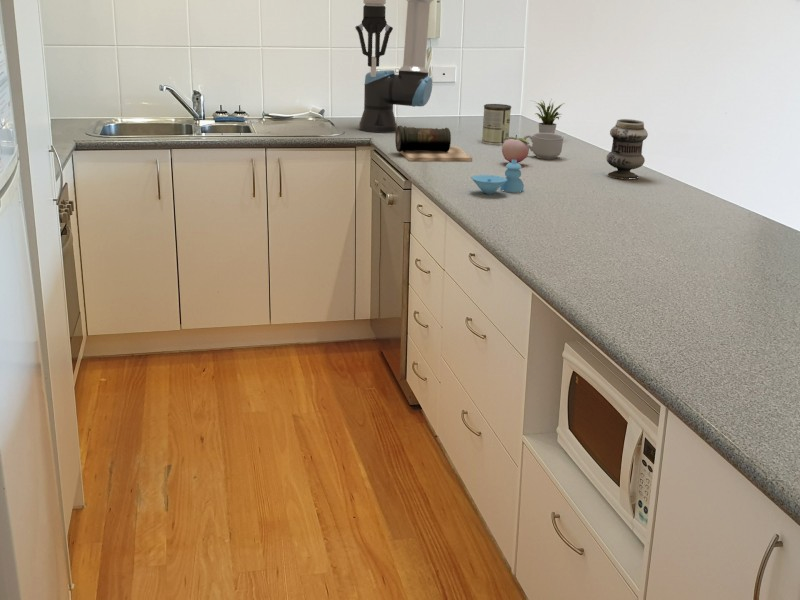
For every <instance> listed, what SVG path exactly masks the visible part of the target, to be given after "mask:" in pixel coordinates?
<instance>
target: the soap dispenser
mask: <svg viewBox="0 0 800 600" xmlns="http://www.w3.org/2000/svg"><path fill="white" fill-rule="evenodd" d="M505 168H506V170H505V171H504V175H505V177H504V176H500V175H492V174H478V175H474V176H473V175H472V176H470V179H471V180H472V181H473V182H474V183H475V185H476V186H477V187H478V188H479V189H480V190H481V192H482V193H483V194H484V193H487V194H486V195H493V194H494V193H495V192H496V191H497V190H499V189H501V190H504V191H510V192H519V193H521V192H520V191H523V192H524V185H525V184H524V182H523V180H522V179H521V177H522V171H521V169H522V165H521V164H520V163H517V160H512V163H511V162H508V163H507V164H506V165H505ZM501 190H500V191H501ZM504 191H503V192H504ZM510 192H509V193H510ZM492 193H493V194H492Z"/></svg>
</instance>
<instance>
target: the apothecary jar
mask: <svg viewBox="0 0 800 600" xmlns="http://www.w3.org/2000/svg"><path fill="white" fill-rule="evenodd" d="M609 135H610V136H611V137H612V145H611V150H610V152H609V153H608V154H606V157H605V158H606V159H605V160H606V161H607V164H609V165H610V166H611V167H613V168H615V169H616V170H613V171H612V172H608V173H607V176H608V177H609V176H611V177H610V178H612V177H615V178H614V179H617V178H623V179H622V180H625V179H629V178H637V177H639V175H637V174H636V173H634V172H632V171H631V170H635V169H639V168H640V167H642V166H644V164H645V161H646V160H645V157H644V156H643V154H642V153H643V145H644V144H643V143H644V141H645V140H647V138H648V136H649V132H648V130H646V128H645V123H644V121H642V120H638V119H637V120H636V119H631V118H630V119H629V118H627V119H626V118H623V119H617V120H616V123H615V126H613V127H611V129H610V131H609Z"/></svg>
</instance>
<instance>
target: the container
mask: <svg viewBox="0 0 800 600" xmlns="http://www.w3.org/2000/svg"><path fill="white" fill-rule="evenodd" d="M451 142H452V133H451V131H450V128H449V127H445V128H437V127H436V128H432V127H429V128H428V127H427V128H425V127H423V128H422V127H413V126H411V127H407V126H405V125H404V126H402V125H397V129H396V131H395V149H396V152H399V153H400V152H401V151H402V150H403V151H404V152H405V151H406V150H407V151H414V150H421V151H444V152H448V151H449V149H450V146H451V144H452V143H451Z"/></svg>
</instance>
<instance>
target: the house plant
mask: <svg viewBox="0 0 800 600" xmlns="http://www.w3.org/2000/svg"><path fill="white" fill-rule="evenodd" d="M552 100H553V98H551V99H550V101H549V104H548V106H547V107H546V104H545V101H544V100H539V103H538V102H536V101H534V100H530V101H532V102H535V103H536V104H537V105H535V108H537V109H538V110H539V112H540V113H537V112H536V113H535V115H536V116H537V117H538V119H540V120H541V122H538V133H553V134H556V128H557V125H558V124H557V123H555V120H556V119H557V120H559V119H560V118H562V116H561V113H559V112H558V110H559V109H560V108H561V107H562V106H563V105H565V103H566V102H563V103H561V104H560V105H558V106H557V107H556V108H554V103H555V101H554V102H552ZM551 102H552V103H551ZM553 109H554V110H553Z"/></svg>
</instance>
